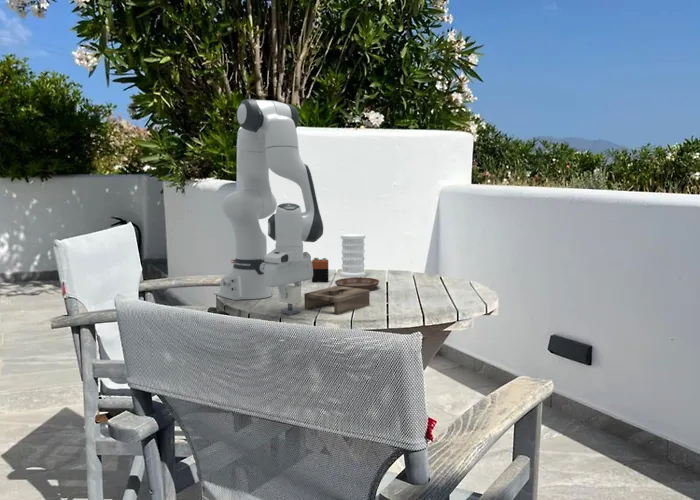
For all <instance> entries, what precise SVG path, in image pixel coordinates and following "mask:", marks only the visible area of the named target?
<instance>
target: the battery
mask: <svg viewBox="0 0 700 500" xmlns="http://www.w3.org/2000/svg"><path fill="white" fill-rule="evenodd" d="M311 261H312V266H313V277H312V279H311V282H312V283H328V282H329V259H328V258H326V257H323V258H322V259H319V257H313V259H311Z"/></svg>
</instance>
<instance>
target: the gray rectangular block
mask: <svg viewBox="0 0 700 500" xmlns="http://www.w3.org/2000/svg"><path fill="white" fill-rule="evenodd" d="M284 289H285V291H286V293H288V298H285V299H282V298H281V293H280V291H279V290H278V302H279V303H284V304H285V303H286V304H287V308H282V309H280V310H279V311H280V312H279V313H280V314H284V313H286V314H285V315H289V314H292V315H295V314H299V313H301V309H300V308H295V307H293V305H296V304H298V303H301V302H302V286H301V287H299V286H295V285H291V284H287V285H286V288H284ZM298 312H299V313H298ZM294 313H295V314H294Z"/></svg>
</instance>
